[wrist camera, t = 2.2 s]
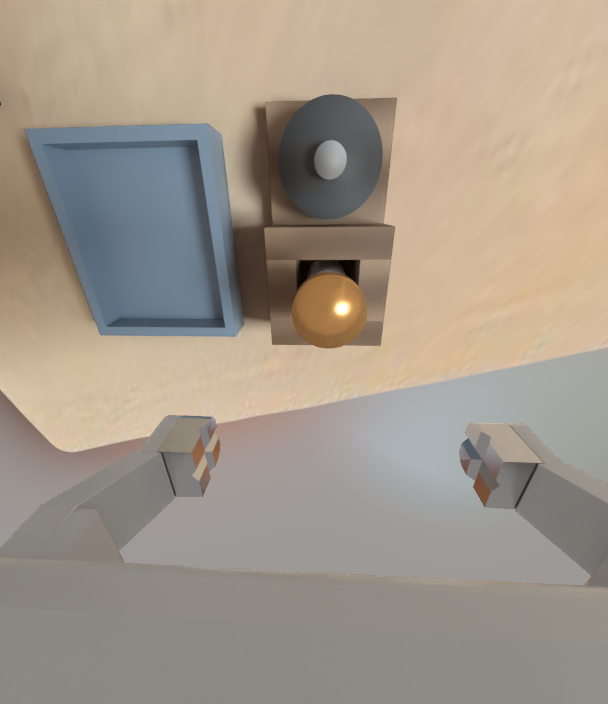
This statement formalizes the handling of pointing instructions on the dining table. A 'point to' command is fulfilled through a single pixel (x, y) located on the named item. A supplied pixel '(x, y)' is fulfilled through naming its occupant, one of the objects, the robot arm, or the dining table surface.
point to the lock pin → (328, 306)
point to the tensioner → (329, 201)
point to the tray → (146, 225)
